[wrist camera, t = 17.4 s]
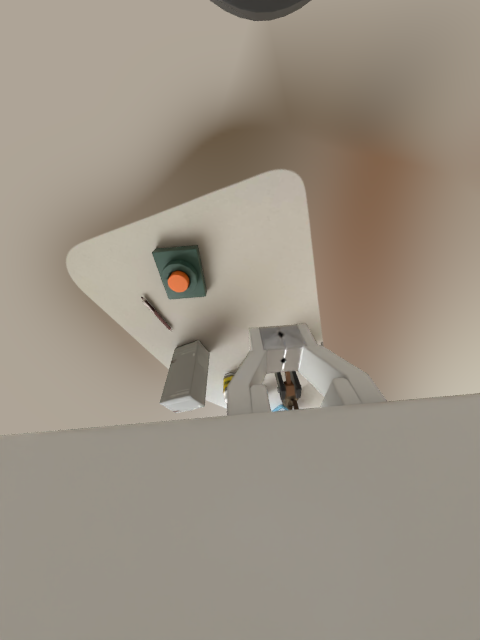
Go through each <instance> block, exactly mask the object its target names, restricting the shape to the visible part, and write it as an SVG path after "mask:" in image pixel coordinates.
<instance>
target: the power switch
mask: <svg viewBox="0 0 480 640" xmlns="http://www.w3.org/2000/svg"><path fill="white" fill-rule="evenodd" d="M285 376H286V381H285V382H284V387H285V393H286V396H293V395H295V388H294V384H293V382H292V381H291V376H290V371H288V372H285Z"/></svg>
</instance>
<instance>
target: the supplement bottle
mask: <svg viewBox="0 0 480 640" xmlns="http://www.w3.org/2000/svg"><path fill="white" fill-rule="evenodd" d="M234 375H235V374H232V373H229V374H226V375H225V376H224V388H223V395H224V402H225V403H227V386H228V384H229V383H230V381H231V380H232V378H233V376H234Z"/></svg>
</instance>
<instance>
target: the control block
mask: <svg viewBox="0 0 480 640" xmlns="http://www.w3.org/2000/svg"><path fill="white" fill-rule="evenodd" d="M152 254H153V257H154V260H155V262H156V265H157V268H158V271H159V273H160V276H161V279H162V282H163V285H164V287H165V290H166V293H167V296H168V298H169V299H180V298H192V297H204V296H206V293H207V290H206V285H205V280H204V275H203V270H202V265H201V260H200V255H199V250H198V245H195V246H182V247H170V248H157V249H155V250H154V251H153V252H152ZM175 271H182V272H184V273H185V274H186V275H187V276H188V277H189V285H188V288H187V289H186V290H185V291H184V292H175V291H173V290H172V289H171V288H170V287H169V285H168V279H169V277H170V275H171V274H172V273H173V272H175Z"/></svg>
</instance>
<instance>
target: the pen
mask: <svg viewBox="0 0 480 640" xmlns="http://www.w3.org/2000/svg"><path fill="white" fill-rule="evenodd" d="M141 298H142V301H143V302H144V304H145V305H146V306H147V307H148V308H149V309H150V311H151V312H152V313H154V314H155V315H156V316H157V317H158V319H159V320H160V321H161V322H162V323H163V324H164V325H165V326H166V327H167V328H168V329H169V330H170V331H172V329H171V328H170V326H169V325H168V324H167V323H166V322H165V321H164V319H163V318H162V317H161V316H160V315H159V314H158V313H157V311H156V310H155V309H154V308H153V307H152V306H151V305H150V304H149V303H148V301H147V300H146V299H144V298H143V297H141Z"/></svg>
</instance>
